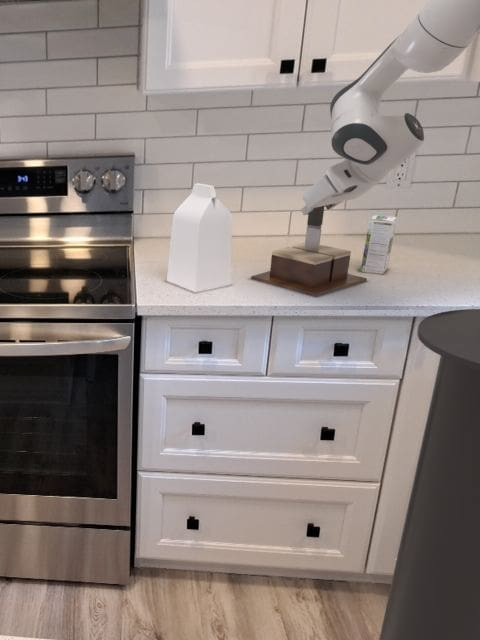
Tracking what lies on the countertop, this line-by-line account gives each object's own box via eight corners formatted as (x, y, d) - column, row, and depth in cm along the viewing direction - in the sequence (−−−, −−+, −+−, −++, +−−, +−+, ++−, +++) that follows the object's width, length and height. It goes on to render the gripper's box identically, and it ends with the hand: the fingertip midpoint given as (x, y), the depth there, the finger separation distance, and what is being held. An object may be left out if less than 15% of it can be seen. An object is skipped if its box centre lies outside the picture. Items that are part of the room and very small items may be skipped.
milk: (166, 281, 188) (170, 184, 177) (200, 274, 192) (206, 179, 182) (195, 293, 178) (201, 191, 167) (230, 285, 182) (238, 185, 171)
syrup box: (364, 266, 191) (372, 214, 185) (388, 269, 187) (397, 216, 182) (360, 272, 187) (368, 218, 181) (384, 275, 183) (393, 220, 177)
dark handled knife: (320, 255, 178) (327, 197, 173) (314, 257, 177) (322, 198, 172) (306, 252, 182) (313, 195, 176) (301, 254, 181) (308, 196, 175)
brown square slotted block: (366, 281, 179) (371, 251, 176) (315, 297, 170) (320, 266, 167) (299, 266, 195) (303, 238, 192) (250, 279, 186) (253, 250, 183)
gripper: (377, 158, 167) (334, 194, 179) (325, 168, 158) (283, 205, 169) (392, 179, 166) (347, 214, 177) (340, 190, 156) (297, 226, 167)
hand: (315, 209), depth 173 cm, fingers open, 8 cm apart
